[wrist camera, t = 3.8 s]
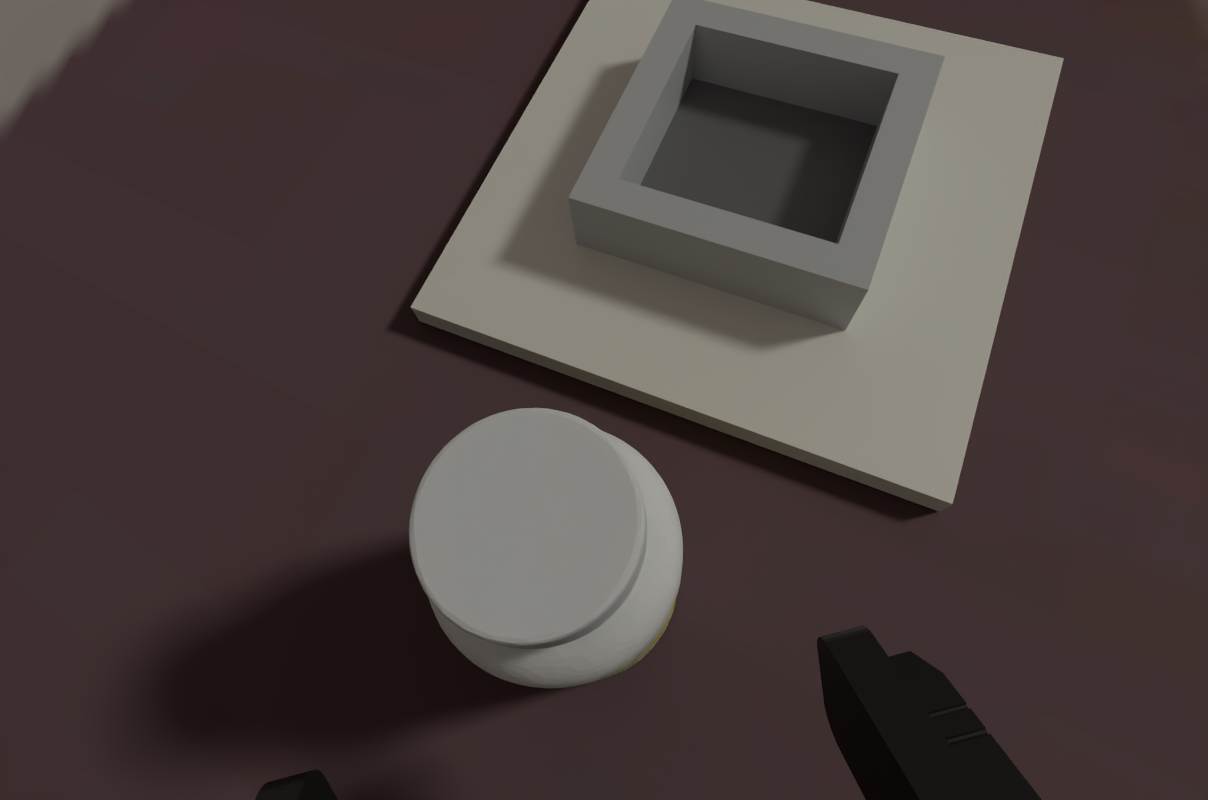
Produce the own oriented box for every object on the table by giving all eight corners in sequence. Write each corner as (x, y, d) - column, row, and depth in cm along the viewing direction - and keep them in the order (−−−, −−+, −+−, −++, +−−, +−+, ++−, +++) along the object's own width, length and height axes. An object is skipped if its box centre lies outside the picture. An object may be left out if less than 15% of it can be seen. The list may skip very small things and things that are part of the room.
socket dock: (419, 321, 24) (383, 266, 21) (615, -21, 30) (610, -106, 26) (938, 511, 20) (993, 481, 17) (1048, 80, 26) (1105, -4, 23)
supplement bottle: (511, 486, 21) (407, 354, 12) (682, 503, 21) (704, 378, 12) (480, 668, 20) (328, 671, 10) (667, 693, 19) (681, 718, 10)
